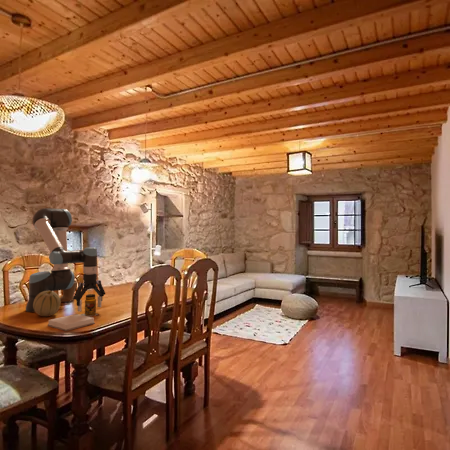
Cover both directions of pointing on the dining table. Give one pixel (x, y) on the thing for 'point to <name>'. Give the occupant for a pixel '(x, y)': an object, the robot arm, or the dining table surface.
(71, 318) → the stand
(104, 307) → the dining table surface
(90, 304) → the condiment
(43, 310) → the cantaloupe
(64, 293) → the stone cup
